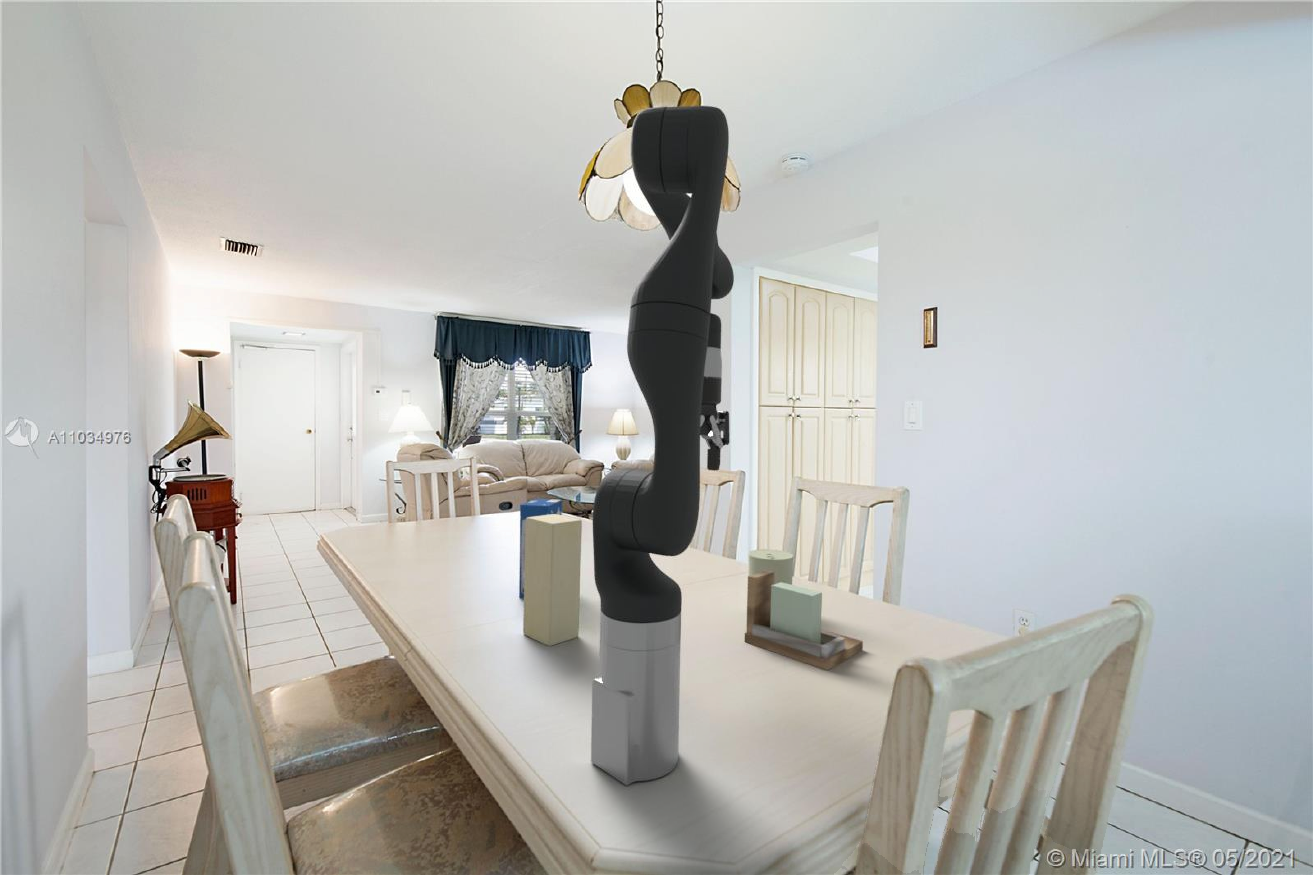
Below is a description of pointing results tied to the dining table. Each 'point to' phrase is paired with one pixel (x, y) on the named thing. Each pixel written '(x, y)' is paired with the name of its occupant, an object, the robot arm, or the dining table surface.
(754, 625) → the track base
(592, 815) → the dining table surface
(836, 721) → the dining table surface
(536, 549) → the tall beige block
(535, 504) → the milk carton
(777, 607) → the door panel
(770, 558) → the can
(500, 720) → the dining table surface
